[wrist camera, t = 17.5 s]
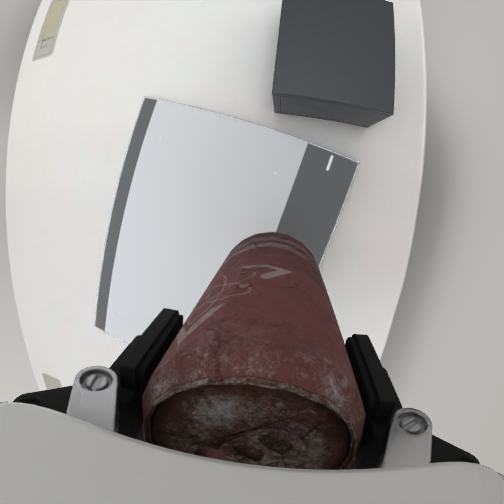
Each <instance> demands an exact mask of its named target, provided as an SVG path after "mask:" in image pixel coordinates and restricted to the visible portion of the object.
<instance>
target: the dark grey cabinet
mask: <svg viewBox="0 0 504 504" xmlns="http://www.w3.org/2000/svg"><path fill="white" fill-rule="evenodd" d="M394 90H395V31H394V12H393V3H392V2H388V1H385V0H282V9H281V18H280V27H279V36H278V45H277V54H276V63H275V72H274V80H273V89H272V95H273V104H274V112H275V113H283V114H291V115H298V116H306V117H312V118H319V119H325V120H331V121H337V122H342V123H347V124H353V125H358V126H362V127H369V126H371V125H373V124H375V123H377V122H379V121H381V120H383V119H385V118H387V117H389V116H391V115H393V111H394Z"/></svg>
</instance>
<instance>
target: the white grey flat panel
mask: <svg viewBox="0 0 504 504" xmlns="http://www.w3.org/2000/svg"><path fill="white" fill-rule="evenodd" d="M359 163H360V162H358V161H356V160H353V159H351V158H348V157H346V156H344V155H341V154H339V153H336V152H334V151H331V150H329V149H326V148H323V147H321V146H318V145H316V144H313V143H310V142H308V141H305V140H302V139H299V138H296V137H294V136H291V135H288V134H285V133H282V132H279V131H276V130H273V129H270V128H267V127H264V126H261V125H257V124H254V123H251V122H248V121H244V120H241V119H237V118H234V117H230V116H227V115H223V114H220V113H216V112H212V111H208V110H204V109H200V108H196V107H192V106H188V105H184V104H179V103H175V102H170V101H165V100H161V99H156V98H151V97H145V96H144V99H143V102H142V104H141V107H140V110H139V113H138V116H137V119H136V122H135V125H134V128H133V131H132V134H131V138H130V141H129V144H128V148H127V151H126V155H125V158H124V162H123V165H122V169H121V173H120V177H119V181H118V185H117V189H116V193H115V197H114V202H113V206H112V211H111V215H110V220H109V225H108V230H107V235H106V241H105V247H104V252H103V259H102V265H101V272H100V279H99V287H98V295H97V304H96V314H95V325H94V327H96V328H98V329H100V330H102V331H104V332H105V333H107V334H109V335H111V336H113V337H115V338H117V339H119V340H121V341H123V342H125V343H127V344H130V343H131V342H132V340H133V339H134V338H135V337H136V336H137V335H142V333H143V332H144V331H145V330H146V329H147V327H148V326H149V325H150V324H151V323H152V321H153V320H154V319H155V318H156V317H157V315H158V314H159V313H160V312H161V311H162V309H163V308H168V309H173V310H178V311H179V314H180V315H183V325H184V323H185V321H186V320H187V318H188V317H189V315H190V314H191V312H192V310H193V309H194V307H195V306H196V304H197V303H198V301H199V299H200V298H201V296H202V295H203V293H204V292H205V290H206V288H207V287H208V285H209V284H210V282H211V281H212V279H213V278H214V276H215V274H216V273H217V271H218V270H219V268H220V267H221V265H222V264H223V262H224V261H225V259H226V257H227V256H228V254H229V253H230V251H231V250H232V249H233V248H234V247H235V246H236V245H237V244H239V243H240V242H241V241H242V240H244V239H246V238H248V237H250V236H252V235H255V234H257V233H266V232H276V233H281V234H286V235H289V236H291V237H293V238H294V239H296V240H298V241H300V242H302V243H303V244H304V245H305V247H306V248H307V249H308V250H309V251H310V252H311V253H312V254H313V257H314V259H315V261H316V264H317V266H318V268H319V267H320V265H321V262H322V260H323V257H324V255H325V253H326V250H327V248H328V245H329V243H330V240H331V238H332V235H333V233H334V230H335V228H336V225H337V223H338V220H339V217H340V215H341V212H342V210H343V207H344V204H345V202H346V199H347V196H348V194H349V191H350V188H351V186H352V183H353V180H354V177H355V174H356V172H357V169H358V166H359Z"/></svg>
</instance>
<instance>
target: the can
mask: <svg viewBox="0 0 504 504" xmlns="http://www.w3.org/2000/svg"><path fill="white" fill-rule="evenodd" d="M142 408H143V423H142V428H143V439H144V442H146V443H150V444H153V445H157V446H160V447H164V448H168V449H172V450H176V451H180V452H184V453H189V454H193V455H198V456H203V457H208V458H213V459H219V460H224V461H230V462H237V463H244V464H251V465H260V466H269V467H280V468H294V469H316V470H349V468H350V467H351V466H352V464H353V463H354V461H355V457H356V451H357V447H358V445H359V443H360V441H361V438H362V436H363V429H364V422H365V415H366V414H365V410H364V407H363V403H362V400H361V396H360V393H359V389H358V386H357V383H356V379H355V376H354V373H353V369H352V366H351V363H350V360H349V357H348V353H347V350H346V347H345V344H344V341H343V338H342V335H341V332H340V329H339V326H338V323H337V320H336V317H335V314H334V311H333V308H332V305H331V302H330V299H329V296H328V294H327V291H326V288H325V285H324V282H323V279H322V277H321V274H320V271H319V268H318V266H317V264H316V261H315V259H314V257H313V254H312V253H311V252H310V251H309V250H308V249H307V248H306V247H305V245H304V244H303V243H302V242H300V241H298V240H296V239H294V238H293V237H291V236H289V235H286V234H281V233H276V232H266V233H257V234H255V235H252V236H250V237H248V238H246V239H244V240H242V241H241V242H240V243H239V244H237V245H236V246H235V247H234V248H233V249H232V250H231V251H230V253H229V254H228V256H227V257H226V259H225V261H224V262H223V264H222V265H221V267H220V268H219V270H218V271H217V273H216V274H215V276H214V278H213V279H212V281H211V282H210V284H209V285H208V287H207V288H206V290H205V292H204V293H203V295H202V296H201V298H200V299H199V301H198V303H197V304H196V306H195V307H194V309H193V310H192V312H191V314H190V315H189V317H188V318H187V320H186V321H185V323H184V325H183V326H182V328H181V329H180V331H179V333H178V334H177V336H176V337H175V339H174V340H173V342H172V344H171V345H170V347H169V348H168V350H167V352H166V353H165V355H164V356H163V358H162V360H161V361H160V363H159V364H158V366H157V368H156V369H155V371H154V373H153V374H152V376H151V378H150V380H149V382H148V385H147V387H146V389H145V391H144V393H143V395H142Z"/></svg>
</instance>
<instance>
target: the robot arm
mask: <svg viewBox="0 0 504 504" xmlns="http://www.w3.org/2000/svg"><path fill="white" fill-rule="evenodd" d="M182 326H183V315H180V314H179V311H178V310H173V309H168V308H163V309H162V311H161V312H160V313H159V314H158V315H157V317H156V318H155V319H154V320H153V321H152V323H151V324H150V325H149V326H148V327H147V329H146V330H145V331H144V332H143V333H142V335H137V336H136V337H135V338H134V339H133V340H132V342H131V343H130V344H129V345H128V346H127V348H126V349H125V350H124V351H123V352H122V354H121V355H120V356H119V357H118V358H117V360H116V361H115V362H114V363H113V364H112V366H111V367H110V368H106V367H102V366H91V367H87V368H85V369H83V370H81V371H80V372H79V373H78V374H77V375H76V377H75V380H74V384H73V386H68V387H62V388H57V389H51V390H45V391H38V392H32V393H26V394H22V395H20V396H19V397H17V398H16V399H15V400H14V401H13V402H0V504H504V475H502V474H500V473H497V472H496V471H495V470H493V469H491V468H490V467H487V466H484V465H481V464H480V463H479V461H478V460H477V459H476V458H475V456H473V455H471V454H470V453H468V452H466V451H464V450H462V449H460V448H458V447H456V446H454V445H452V444H450V443H448V442H446V441H443V440H442V439H440V438H438V437H436V436H434V435H432V423H431V420H430V419H429V417H428V416H427V415H426V414H425V413H423V412H421V411H419V410H417V409H413V408H402V406H401V403H400V401H399V398H398V397H397V394H396V392H395V389H394V387H393V385H392V382H391V380H390V378H389V376H388V373H387V371H386V370H385V369H384V368H383V367H382V365H381V363H380V360H379V358H378V356H377V354H376V352H375V350H374V347H373V345H372V343H371V341H370V339H369V337H368V335H359V334H353V335H352V337H348V338H347V340H346V344H345V347H346V350H347V353H348V357H349V360H350V363H351V366H352V369H353V373H354V376H355V379H356V383H357V386H358V389H359V393H360V396H361V400H362V403H363V407H364V410H365V414H366V415H365V422H364V429H363V436H362V438H361V441H360V443H359V445H358V447H357V451H356V457H355V461H354V463H353V464H352V466H351V467H350V468H349V469H352V470H316V469H294V468H280V467H269V466H260V465H251V464H244V463H237V462H230V461H224V460H219V459H213V458H208V457H203V456H198V455H193V454H189V453H184V452H180V451H176V450H172V449H168V448H164V447H160V446H157V445H153V444H150V443H146V442H144V439H143V428H142V423H143V408H142V395H143V393H144V391H145V389H146V387H147V385H148V382H149V380H150V378H151V376H152V374H153V373H154V371H155V369H156V368H157V366H158V364H159V363H160V361H161V360H162V358H163V356H164V355H165V353H166V352H167V350H168V348H169V347H170V345H171V344H172V342H173V340H174V339H175V337H176V336H177V334H178V333H179V331H180V329H181V328H182ZM136 439H137V440H136Z"/></svg>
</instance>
